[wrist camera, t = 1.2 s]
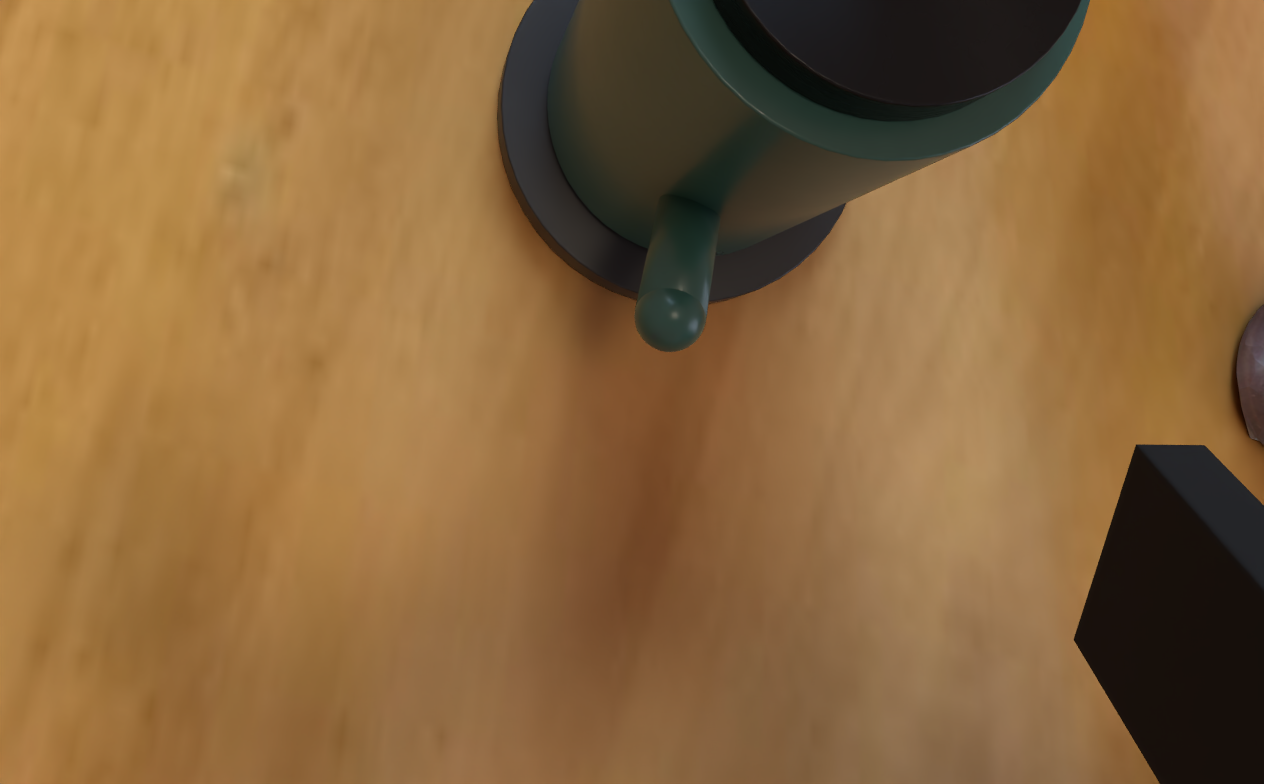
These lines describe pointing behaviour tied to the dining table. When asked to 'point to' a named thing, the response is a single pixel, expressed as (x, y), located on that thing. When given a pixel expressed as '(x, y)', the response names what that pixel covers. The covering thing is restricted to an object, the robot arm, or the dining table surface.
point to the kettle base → (564, 212)
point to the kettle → (775, 116)
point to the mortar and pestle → (1252, 375)
